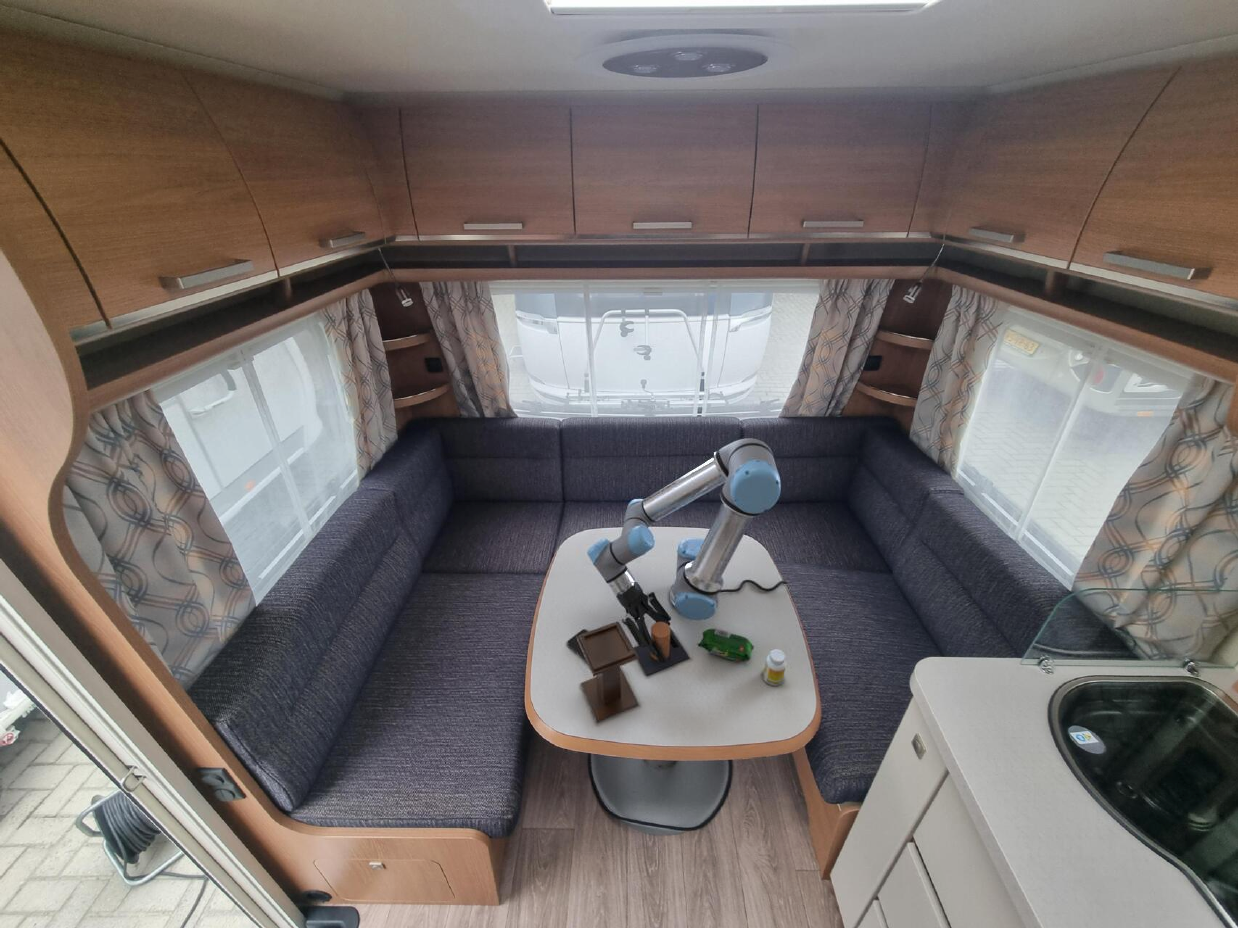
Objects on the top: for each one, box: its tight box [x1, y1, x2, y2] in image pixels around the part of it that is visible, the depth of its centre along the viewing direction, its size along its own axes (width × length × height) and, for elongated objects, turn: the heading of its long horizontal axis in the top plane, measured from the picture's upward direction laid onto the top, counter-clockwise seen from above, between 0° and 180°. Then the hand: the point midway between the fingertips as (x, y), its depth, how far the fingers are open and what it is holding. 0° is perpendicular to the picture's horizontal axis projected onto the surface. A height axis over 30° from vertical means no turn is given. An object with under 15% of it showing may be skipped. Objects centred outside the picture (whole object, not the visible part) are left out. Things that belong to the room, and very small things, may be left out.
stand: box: [577, 620, 639, 724], centre depth 128 cm, size 12×12×21 cm
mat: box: [633, 634, 690, 677], centre depth 144 cm, size 14×10×1 cm
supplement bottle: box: [762, 648, 787, 686], centre depth 135 cm, size 5×5×10 cm
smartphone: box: [566, 628, 590, 663], centre depth 145 cm, size 8×1×16 cm
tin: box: [650, 622, 672, 660], centre depth 142 cm, size 6×6×10 cm
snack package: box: [697, 628, 755, 663], centre depth 144 cm, size 7×16×5 cm, turn 69°
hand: (670, 654), depth 141 cm, fingers open, 6 cm apart
